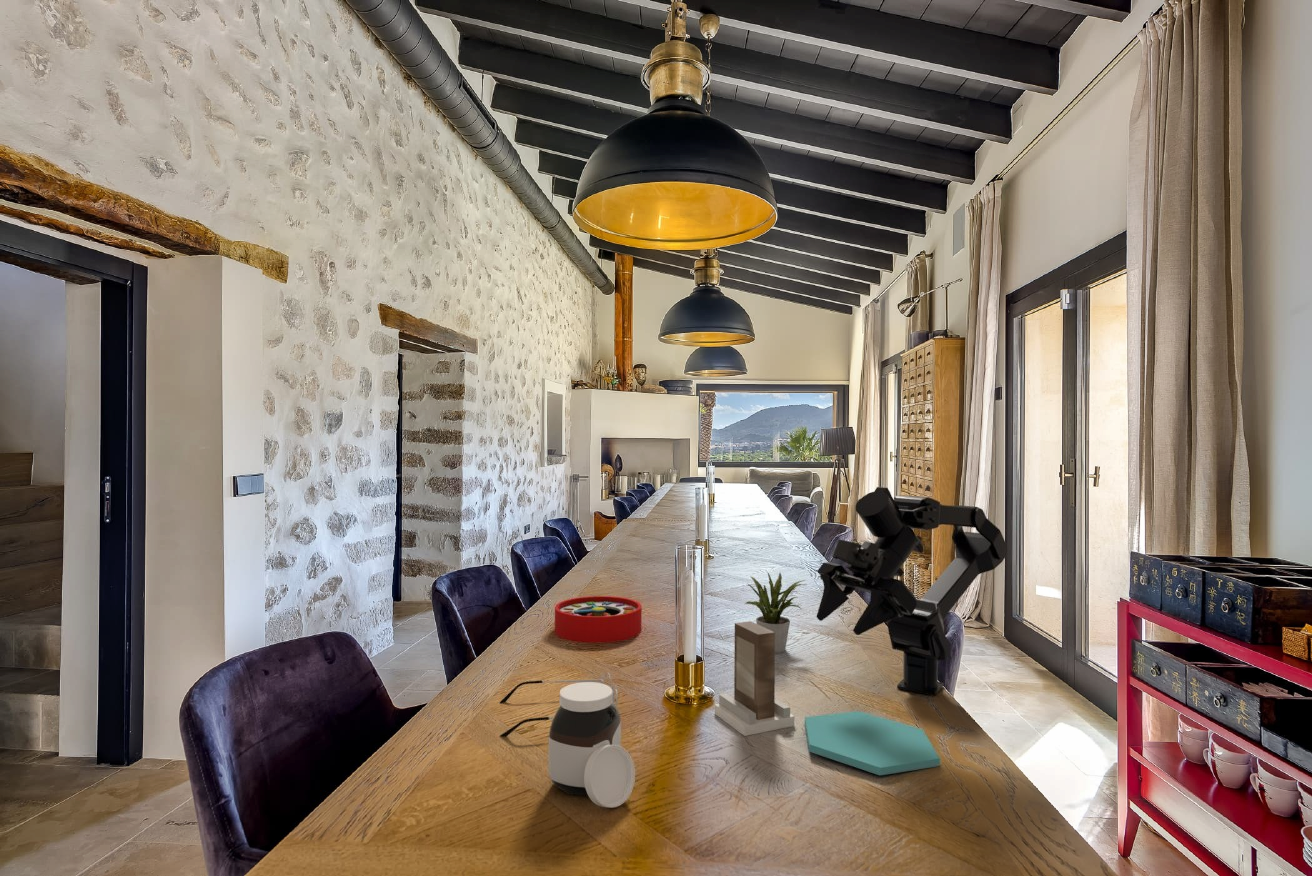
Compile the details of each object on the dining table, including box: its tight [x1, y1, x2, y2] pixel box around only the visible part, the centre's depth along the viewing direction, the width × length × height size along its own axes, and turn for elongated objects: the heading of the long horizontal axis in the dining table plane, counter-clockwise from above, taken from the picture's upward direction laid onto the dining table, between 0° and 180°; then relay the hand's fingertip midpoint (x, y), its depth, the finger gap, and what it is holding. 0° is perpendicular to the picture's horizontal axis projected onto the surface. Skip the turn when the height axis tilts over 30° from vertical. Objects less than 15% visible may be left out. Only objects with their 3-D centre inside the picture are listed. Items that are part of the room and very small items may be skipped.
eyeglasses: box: [499, 672, 619, 738], centre depth 109 cm, size 16×19×5 cm
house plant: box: [744, 571, 808, 654], centre depth 142 cm, size 14×14×16 cm
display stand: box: [714, 692, 795, 737], centre depth 107 cm, size 9×9×3 cm
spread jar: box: [547, 682, 636, 809], centre depth 86 cm, size 12×11×12 cm
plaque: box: [804, 710, 941, 776], centre depth 99 cm, size 18×2×20 cm
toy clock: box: [554, 595, 642, 644], centre depth 157 cm, size 20×6×20 cm
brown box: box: [733, 620, 776, 720], centre depth 107 cm, size 3×7×13 cm, turn 24°
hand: (836, 625), depth 112 cm, fingers open, 9 cm apart
